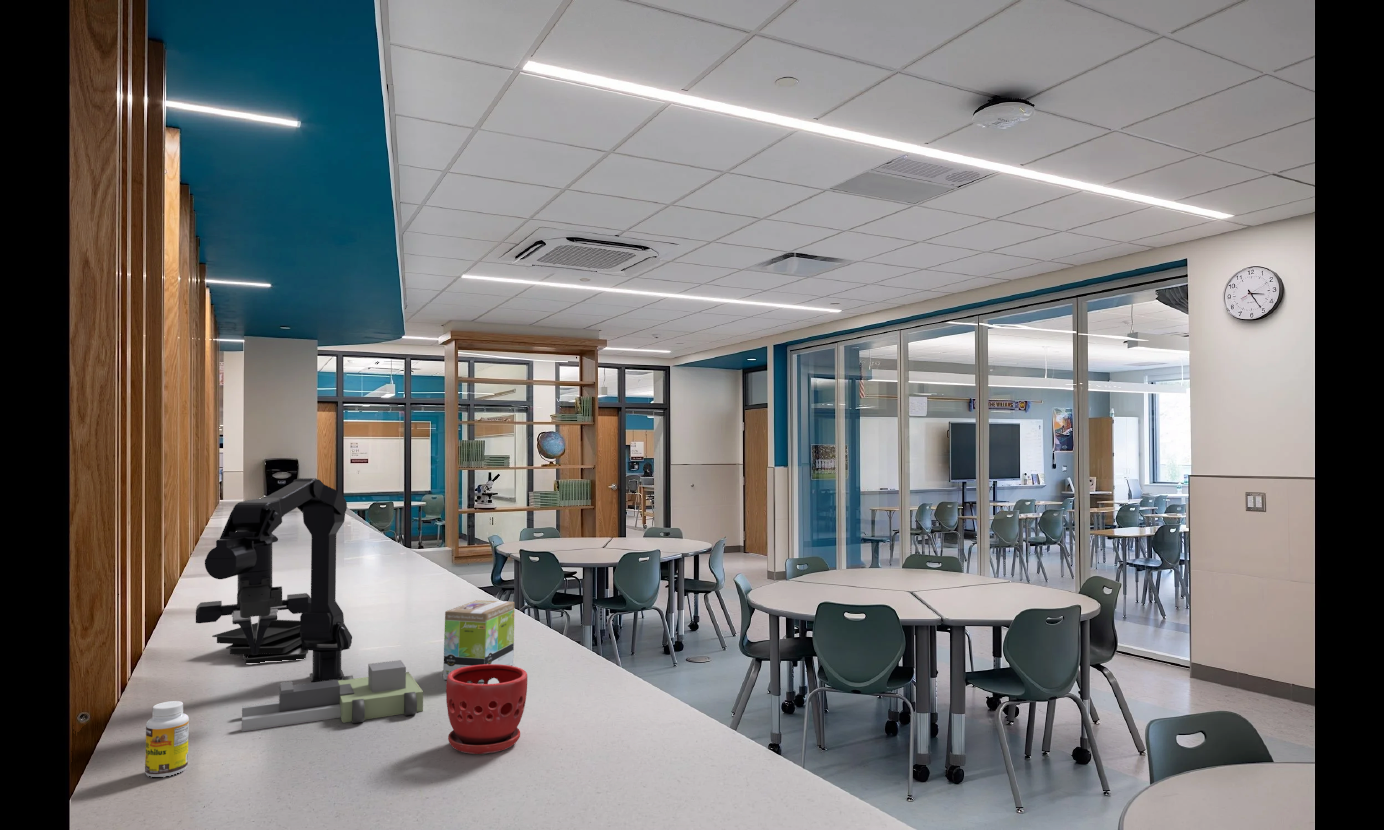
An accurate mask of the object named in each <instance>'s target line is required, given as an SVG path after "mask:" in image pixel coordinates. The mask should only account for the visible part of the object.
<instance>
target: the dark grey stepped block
mask: <svg viewBox="0 0 1384 830" xmlns="http://www.w3.org/2000/svg"><path fill="white" fill-rule="evenodd" d="M338 681H339V679H336V680H328V681H320V682H307V683H298V684H293V681H283V682H280V683H279V684H280V685H279V687H278V701H279V712H286V711H294V710H301V709H308V708H316V707H323V706H330V705H338V704H340V685H339V682H338Z"/></svg>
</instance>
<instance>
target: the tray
mask: <svg viewBox="0 0 1384 830" xmlns="http://www.w3.org/2000/svg"><path fill="white" fill-rule="evenodd" d="M300 625H301V623H300V620H298V619H297V620H293V619H277V620H273V621H271V622H270V624H269V626H268V627H267V629H266V632H265V634H264V637H263V639H262V642H261V645H260V648H259V651H258V654H257V655H270V656H259V657H249V656H248V655H250V656H253V655H252V652H251V649H250V647H249V644H248V641H247V638H246V636H245V634H244V632H243V630H242V628H241V627H240V626H239V627H237V628H234V629H230V630H226V631H224V632H220V633H216V634H213V635H212V636H211V637H212V638H216V643H217V644H229V645H228V646H226V647H225V649H227V650H229V655H230V656H242V660H243V661H244V663H260V662H265V661H282V660H296V659H304V658H307V654H308V653H309V650H306V651H304V652H302V653H301V652H300V653H291V654H286V653H288V652H289V651H291V650H293V649H295V648H296V647H298V646H300V645H302V643H301V638H300V632H299V631H300ZM257 627H258V622H254V623H252V629H253V636H254V642H255V641H256V634H257ZM257 655H256V656H257ZM247 657H248V658H247ZM304 660H305V659H304Z"/></svg>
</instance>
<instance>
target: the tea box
mask: <svg viewBox="0 0 1384 830" xmlns="http://www.w3.org/2000/svg"><path fill="white" fill-rule="evenodd" d="M443 639H444V640H443V668H442V669H443V670H442V672H443V673H442V675H443V676H442V679H443V680H444V681H447V676H448V674H449V673H450V672H452V671H454V670H456V669H458V668H462V667H467V666H473V665H483V664H500V665H510V666H513V665H514V660H515V659H514V656H515V655H514V649H515V648H514V646H515V601H505V600H504V601H502V600H481V599H479V600H478V599H477V600H476V599H475V600H473V601H471V602H468V603H465V604H462V605H460V606H459V605H458V606H457V607H453V608H450V609H449V610H446V611H445V612H444V638H443ZM467 683H472V682H471V681H468V682H467ZM478 683H484V681H483V680H479V682H478Z"/></svg>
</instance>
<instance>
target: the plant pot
mask: <svg viewBox="0 0 1384 830" xmlns="http://www.w3.org/2000/svg"><path fill="white" fill-rule="evenodd" d="M491 679H496V680H497V681H498V683H497V682H496V683H489V680H491ZM479 680H483V681H484V682H483V683H480V682H479ZM468 681H471V682H468ZM445 687H446V688H445V690H446V691H445V693H446V695H445V696H446V707H447V716H448V719H449V724H450V726H451V728H452V730H451V731H450V732H449V734H448V735H447V740H448V742H449V744H450V747H452V748H453V749H455V750H456V751H458V752H462V753H464V754H465V753H466V754H469V755H470V754H471V755H485V754H486V755H487V754H493V753H498V752H501V751H504V750H507V749H510V747H513V745H514V744H516V743H517V742H518V740H519V739H520V738H521V730H520V728H518V726H519V724H520V722H521V719H522V717H523V715H524V711H525V706H526V701H527V694H528V693H527V692H528V673H527V672H526V670H525V669H523V668H521V667H518V666H513V665H512V666H510V665H500V664H483V665H473V666H467V667H462V668H458V669H456V670H454V671H452V672H450V673H449V674H448V676H447V680H446V686H445Z"/></svg>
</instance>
